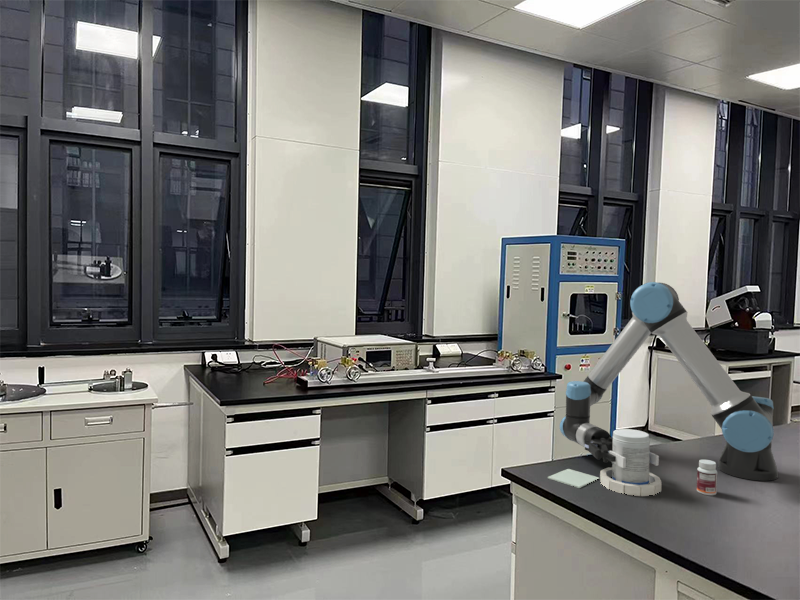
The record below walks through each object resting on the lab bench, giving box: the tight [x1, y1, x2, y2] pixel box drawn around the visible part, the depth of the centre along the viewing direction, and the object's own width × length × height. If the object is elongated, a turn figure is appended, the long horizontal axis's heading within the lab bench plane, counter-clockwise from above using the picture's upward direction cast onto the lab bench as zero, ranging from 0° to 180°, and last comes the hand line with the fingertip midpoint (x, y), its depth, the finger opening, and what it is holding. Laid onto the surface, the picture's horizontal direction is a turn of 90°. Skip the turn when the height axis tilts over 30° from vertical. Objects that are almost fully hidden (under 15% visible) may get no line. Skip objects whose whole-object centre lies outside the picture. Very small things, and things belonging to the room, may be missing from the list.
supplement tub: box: [611, 428, 651, 485], centre depth 156 cm, size 10×10×15 cm
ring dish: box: [599, 466, 663, 497], centre depth 157 cm, size 16×16×2 cm
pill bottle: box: [696, 459, 718, 496], centre depth 152 cm, size 5×5×8 cm
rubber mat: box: [547, 468, 600, 489], centre depth 161 cm, size 10×11×1 cm
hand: (641, 461), depth 152 cm, fingers closed on supplement tub, 9 cm apart
